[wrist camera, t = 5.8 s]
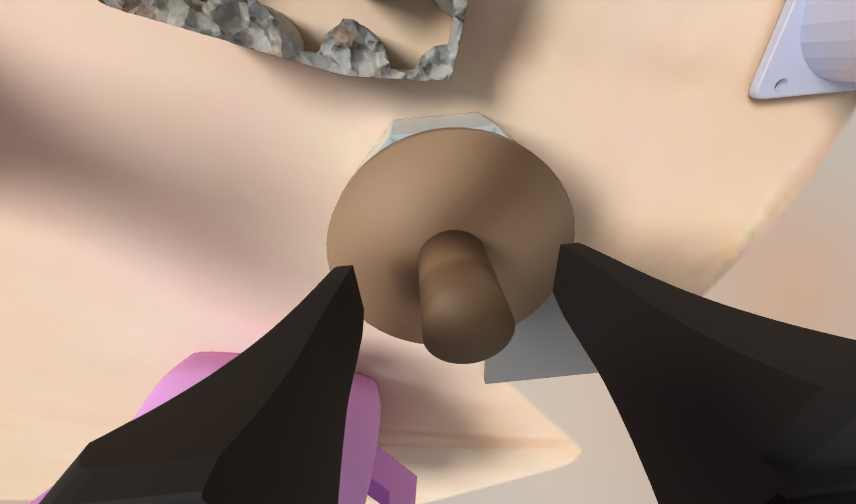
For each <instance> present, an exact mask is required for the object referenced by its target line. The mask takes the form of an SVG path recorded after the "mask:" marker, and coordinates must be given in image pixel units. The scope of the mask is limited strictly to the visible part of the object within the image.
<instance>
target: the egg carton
mask: <svg viewBox="0 0 856 504" xmlns="http://www.w3.org/2000/svg"><path fill="white" fill-rule="evenodd" d="M99 1H100V2H101V3H103V4H105V5H107V6H109V7H113V8H116V9H119V10H122V11H124V12H127V13H132V14H136V15H139V16H143V17H146V18H150V19H153V20H157V21H160V22H164V23H167V24H170V25H173V26H177V27H181V28H184V29H188V30H191V31H194V32H197V33H201V34H205V35H208V36H212V37H216V38H219V39H223V40H226V41H229V42H231V43H234V44H237V45H240V46H243V47H246V48H250V49H254V50H257V51H261V52H264V53H268V54H272V55H275V56H278V57H282V58H285V59H289V60H293V61H297V62H300V63H303V64H306V65H309V66H312V67H315V68H319V69H322V70H326V71H330V72H334V73H338V74H342V75H347V76H360V77H372V78H387V79H411V80H418V81H428V80H431V79H432V80H449V79H451V76H452V72H453V67H454V63H455V58H456V55H457V50H458V46H459V41H460V37H461V32H462V27H463V23H464V16H465V11H466V6H467V2H468V0H434V2H435V3H436V5H437V6H438V7H439V8H440V9H441V10H442V11H443V12H445V13H446V14H448V15H450V16H451V17H452V27H451V31H450V37H449V42H448V44H446V45H439V46H435V47H434V48H432V49H430V50H429V51H427V52H426V53H425V54H424V55H423V56H422V57H421V59H420V60H419V62H418V64H417V66H416V67H415V68H414V69H393V68H391V66H390V63H389V59H388V55H387V52H386V50H385V48H384V46H383V44H382V43H381V41H380V40H379V39H378V37H377V36H376V35H375V34H373V33H372V32H371V31H370V30H369V29H368V28H366V27H365V26H363V25H360V24H359V23H358V22H356V21H355V20H352V19H343V20H342V21H341V22H340V24H339V25H338V26H336V27H335V28H333V29H332V30H331V31H330V32H329V33H328V34H327V35H326V36H325V37H324V39H323V41H322V43H321V46H320V50H319V51H306V50H305V46H304V42H303V39H302V37H301V34H300V32H299V31H298V29H297V28H296V27H295V25H294V24H293V23H292V22H291V21H290V20H289V19H288V18H287V17H285V16H284V15H283V14H282V13H280V12H278V11H275V10H273V9H272V8H270V7H268V6H265V5H263V4H261V3H259V2H258V1H257V0H208V1H207V2H204V1H200V0H99Z"/></svg>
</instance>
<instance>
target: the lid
mask: <svg viewBox="0 0 856 504" xmlns="http://www.w3.org/2000/svg"><path fill="white" fill-rule="evenodd" d="M573 242H574V218H573V212H572V207H571V204H570V201H569V199H568V196H567V193H566V191H565V189H564V188H563V186H562V184H561V182H560V180H559V179H558V178H557V176H556V175H555V174H554V173H553V171H552V170H551V169H550V168H549V167H548V166H547V165H546V164H545V163H544V162H543V161H542V160H541V159H539V158H538V157H537V156H536V155H535V154H533V153H532V152H530V151H529V150H527V149H526V148H524V147H523V146H521V145H520V144H518V143H517V142H515V141H513V140H511V139H508V138H506V137H504V136H502V135H499V134H496V133H493V132H489V131H485V130H482V129H474V128H466V127H448V128H439V129H432V130H426V131H423V132H419V133H416V134H413V135H410V136H407V137H405V138H403V139H400V140H398V141H396V142H394V143H392V144H390V145H388V146H387V147H385V148H384V149H382V150H381V151H379V152H378V153H376V154H375V155H374V156H373V157H371V158H370V159H369V160H368V161H367V162H366V163H364V164H363V165H362V166H361V167H360V169H359V170H358V171H357V172H356V173H355V174H354V176H353V177H352V178H351V179H350V181H349V183H348V184H347V186H346V187H345V189H344V190H343V192H342V194H341V196H340V198H339V200H338V202H337V205H336V207H335V209H334V211H333V214H332V217H331V221H330V224H329V228H328V236H327V258H328V263H329V268H330V271H331V270H332V269H334V268H335V267H337V266H347V265H353V267H354V271H355V275H356V279H357V283H358V287H359V291H360V295H361V299H362V303H363V307H364V320H365V321H366V322H367V323H369V324H370V325H372V326H374V327H375V328H377V329H378V330H380V331H382V332H385V333H387V334H389V335H391V336H394V337H397V338H399V339H402V340H406V341H410V342H415V343H421V344H424V345H425V347H426V348H427V350H428V351H429V352H430V353H431V354H432V355H434V356H435V357H437V358H439V359H441V360H443V361H446V362H450V363H456V364H469V363H476V362H480V361H483V360H486V359H488V358H491V357H493V356H495V355H496V354H498V353H499V352H501V351H502V350H503V349H504V348H505V347H506V346H507V345H508V344H509V342H510V341H511V339H512V337H513V335H514V332H515V325H516V324H518V323H519V322H521V321H522V320H524V319H525V318H527V317H528V316H529V315H531V314H532V313H533V312H534V311H535V310H536V309H538V308H539V307H540V306H541V305H542V304H543V303H544V302H545V301H546V299H547V298H548V297H549V296H550V295H551V293H552V292H553V291H552V290H553V284H554V278H555V273H556V267H557V261H558V255H559V249H560V244H570V243H573Z"/></svg>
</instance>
